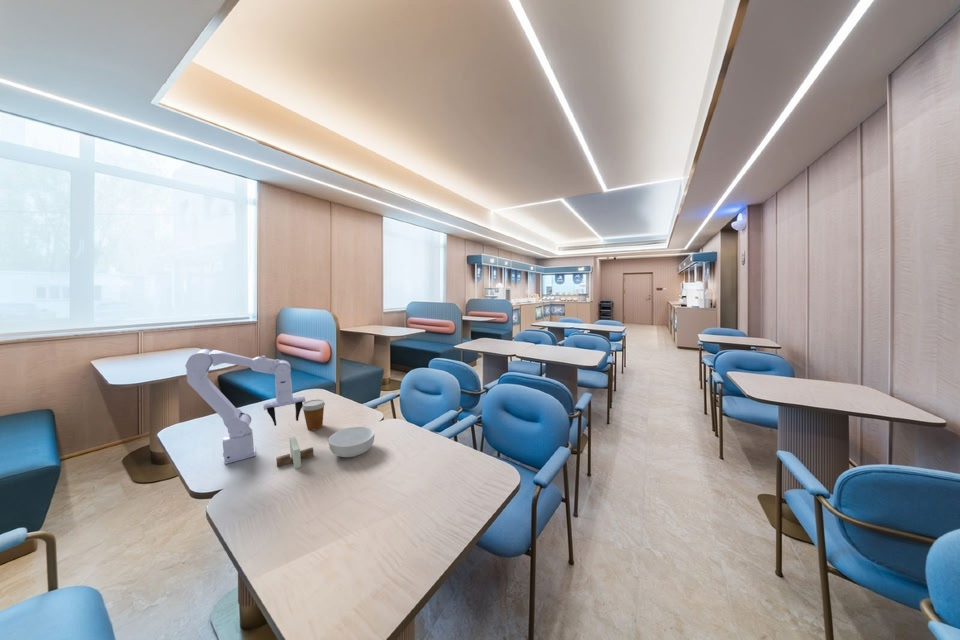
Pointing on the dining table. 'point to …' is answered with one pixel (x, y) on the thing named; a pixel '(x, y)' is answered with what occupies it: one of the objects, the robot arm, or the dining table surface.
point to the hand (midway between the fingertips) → (286, 422)
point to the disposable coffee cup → (313, 413)
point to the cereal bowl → (351, 441)
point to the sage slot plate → (295, 452)
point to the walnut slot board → (287, 459)
